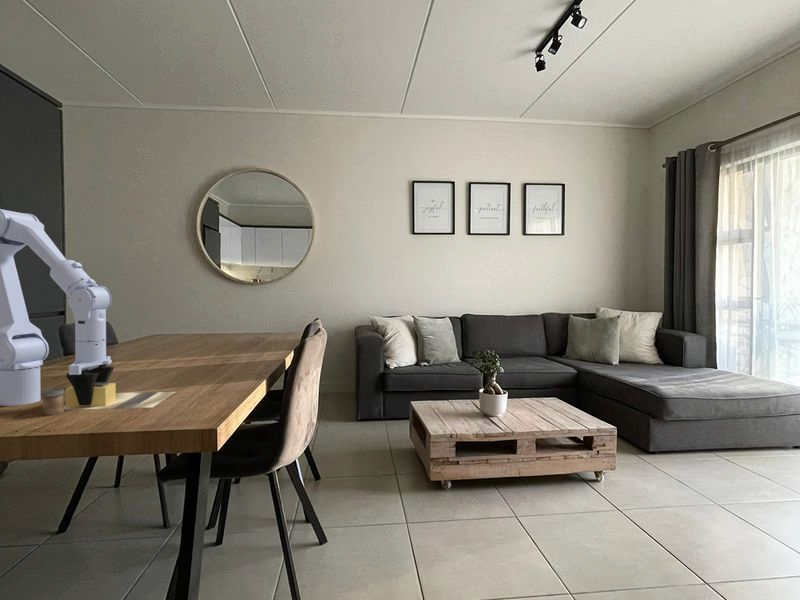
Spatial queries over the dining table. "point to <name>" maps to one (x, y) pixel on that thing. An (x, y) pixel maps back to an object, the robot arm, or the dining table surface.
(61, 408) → the brown cylindrical piece
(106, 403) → the stud finder
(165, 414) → the dining table surface
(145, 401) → the panel
